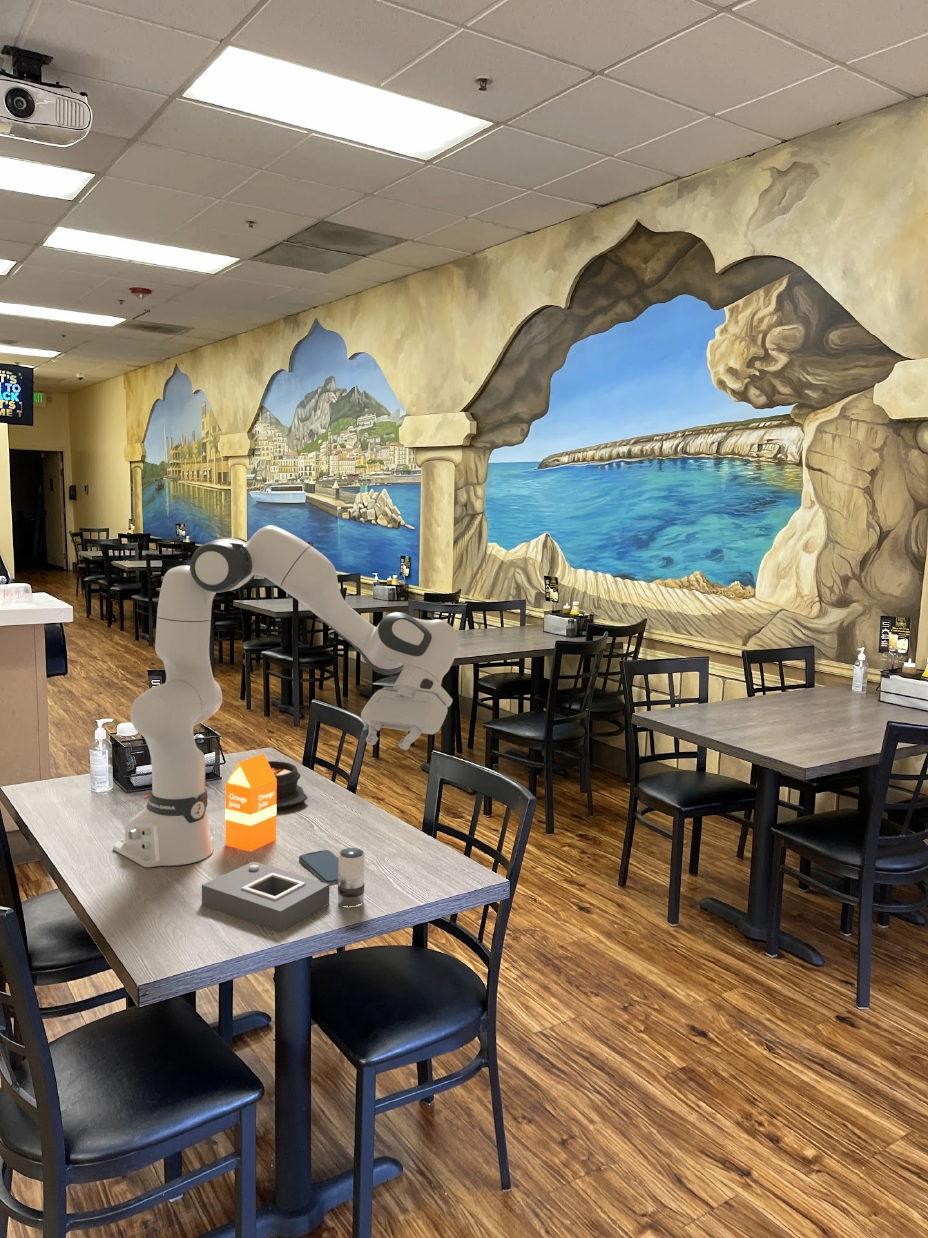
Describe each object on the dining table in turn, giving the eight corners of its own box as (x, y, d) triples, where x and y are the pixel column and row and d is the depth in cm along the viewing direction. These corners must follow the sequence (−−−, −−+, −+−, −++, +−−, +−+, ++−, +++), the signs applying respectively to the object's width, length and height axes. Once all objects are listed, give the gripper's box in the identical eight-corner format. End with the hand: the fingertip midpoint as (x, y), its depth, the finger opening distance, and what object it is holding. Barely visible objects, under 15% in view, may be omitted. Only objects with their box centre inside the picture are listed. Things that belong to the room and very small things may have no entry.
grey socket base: (201, 904, 166) (201, 882, 166) (253, 879, 179) (253, 858, 178) (280, 932, 157) (280, 908, 156) (329, 904, 169) (329, 881, 168)
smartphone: (326, 882, 177) (297, 855, 189) (326, 889, 177) (297, 862, 189) (359, 874, 181) (328, 848, 193) (359, 882, 182) (328, 855, 194)
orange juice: (224, 844, 197) (224, 759, 194) (251, 833, 205) (251, 751, 202) (251, 852, 193) (251, 765, 191) (276, 839, 201) (277, 756, 199)
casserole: (212, 794, 232) (212, 764, 231) (272, 781, 245) (272, 752, 244) (262, 819, 214) (262, 786, 213) (324, 804, 227) (324, 773, 226)
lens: (332, 904, 169) (332, 853, 168) (348, 894, 173) (349, 845, 172) (353, 910, 166) (354, 859, 165) (369, 900, 171) (370, 851, 170)
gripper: (372, 677, 186) (342, 731, 180) (443, 683, 173) (413, 742, 167) (389, 694, 190) (359, 747, 184) (459, 701, 177) (430, 759, 170)
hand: (385, 745), depth 175 cm, fingers open, 8 cm apart
